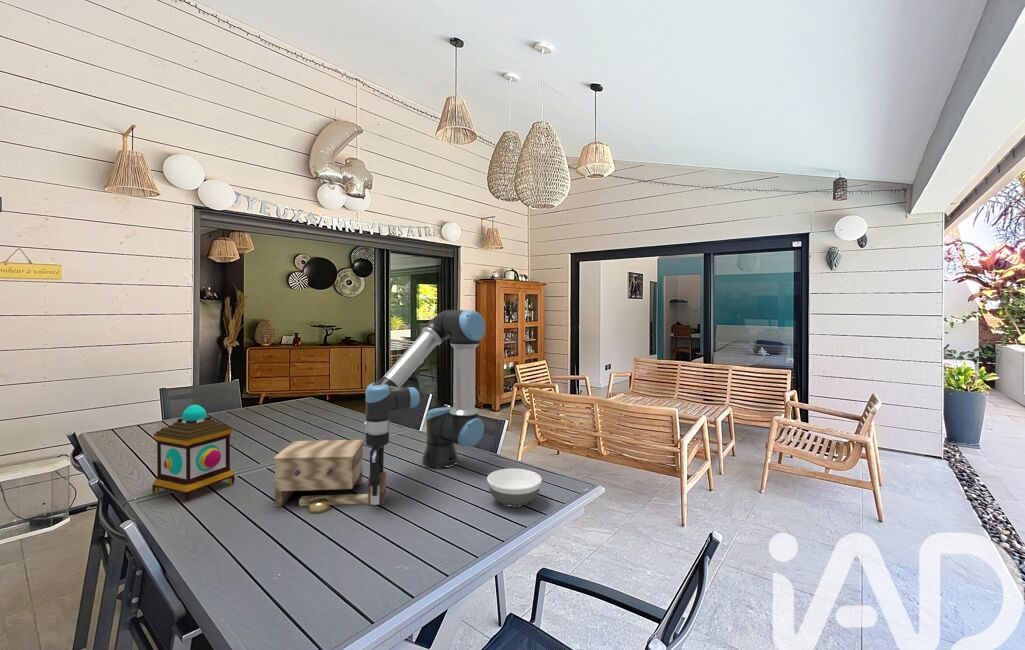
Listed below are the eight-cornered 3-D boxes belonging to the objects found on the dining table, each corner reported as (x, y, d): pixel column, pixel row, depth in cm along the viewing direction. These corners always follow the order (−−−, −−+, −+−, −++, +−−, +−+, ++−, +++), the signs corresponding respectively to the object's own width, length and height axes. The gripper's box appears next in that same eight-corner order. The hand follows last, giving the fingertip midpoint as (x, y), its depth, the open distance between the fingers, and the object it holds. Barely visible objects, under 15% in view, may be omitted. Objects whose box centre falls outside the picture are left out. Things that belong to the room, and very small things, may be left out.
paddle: (385, 498, 154) (386, 472, 154) (383, 504, 149) (383, 477, 149) (303, 500, 151) (303, 474, 150) (298, 507, 146) (298, 479, 145)
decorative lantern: (144, 495, 153) (143, 407, 152) (202, 475, 171) (202, 397, 170) (185, 505, 146) (184, 413, 145) (241, 483, 164) (240, 401, 163)
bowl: (501, 518, 141) (501, 492, 140) (477, 496, 157) (478, 472, 157) (551, 507, 149) (552, 483, 149) (524, 487, 166) (525, 465, 166)
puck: (326, 503, 149) (326, 496, 149) (330, 510, 144) (331, 503, 144) (307, 508, 145) (307, 500, 145) (310, 515, 140) (310, 507, 140)
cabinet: (364, 482, 168) (364, 439, 167) (352, 505, 148) (352, 457, 147) (293, 484, 164) (293, 441, 164) (271, 508, 145) (271, 459, 144)
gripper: (370, 425, 159) (370, 490, 160) (360, 440, 141) (359, 513, 142) (392, 425, 160) (391, 489, 161) (384, 439, 142) (383, 512, 143)
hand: (376, 500), depth 151 cm, fingers closed on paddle, 5 cm apart
